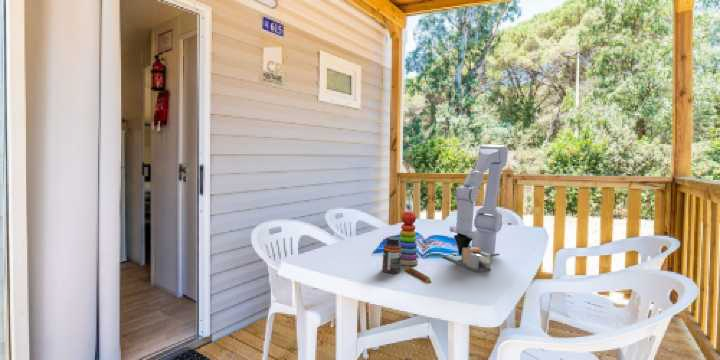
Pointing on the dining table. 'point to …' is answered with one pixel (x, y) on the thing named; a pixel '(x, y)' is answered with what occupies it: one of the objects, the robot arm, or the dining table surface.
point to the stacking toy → (408, 240)
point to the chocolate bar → (418, 274)
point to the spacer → (468, 250)
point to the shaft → (482, 259)
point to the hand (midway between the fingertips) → (462, 254)
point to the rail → (458, 260)
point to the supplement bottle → (392, 255)
